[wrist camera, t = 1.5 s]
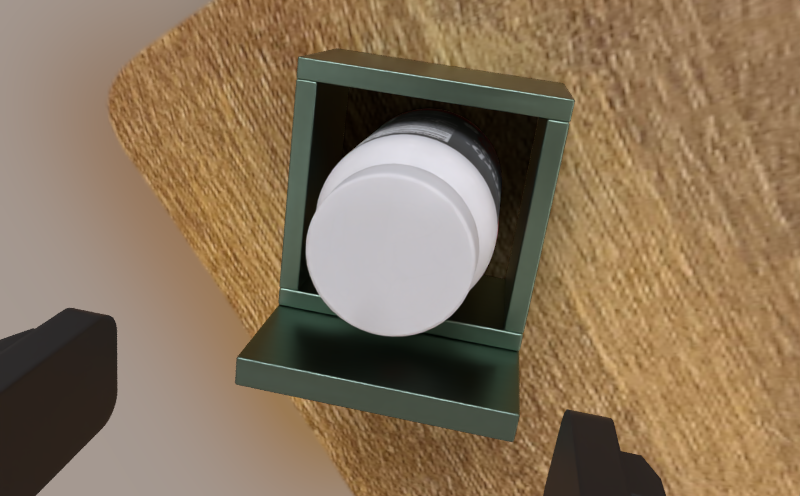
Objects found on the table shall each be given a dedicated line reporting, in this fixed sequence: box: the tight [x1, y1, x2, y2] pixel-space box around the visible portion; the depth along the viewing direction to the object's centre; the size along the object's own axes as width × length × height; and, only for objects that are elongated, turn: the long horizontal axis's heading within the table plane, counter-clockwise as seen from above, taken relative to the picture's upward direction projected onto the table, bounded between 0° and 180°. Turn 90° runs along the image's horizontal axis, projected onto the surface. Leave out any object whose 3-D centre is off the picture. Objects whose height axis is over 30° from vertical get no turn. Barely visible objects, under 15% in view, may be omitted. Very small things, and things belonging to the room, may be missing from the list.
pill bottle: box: [306, 108, 502, 337], centre depth 23 cm, size 6×6×10 cm
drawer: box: [235, 49, 575, 442], centre depth 24 cm, size 10×9×9 cm
